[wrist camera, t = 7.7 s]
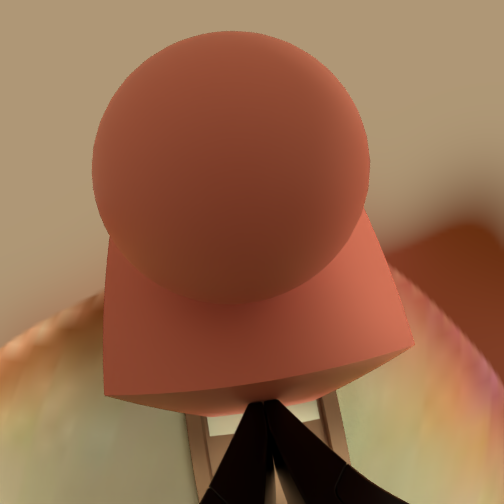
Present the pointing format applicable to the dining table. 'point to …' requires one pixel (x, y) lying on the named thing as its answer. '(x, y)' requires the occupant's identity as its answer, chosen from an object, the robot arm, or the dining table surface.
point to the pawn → (238, 231)
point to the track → (223, 427)
